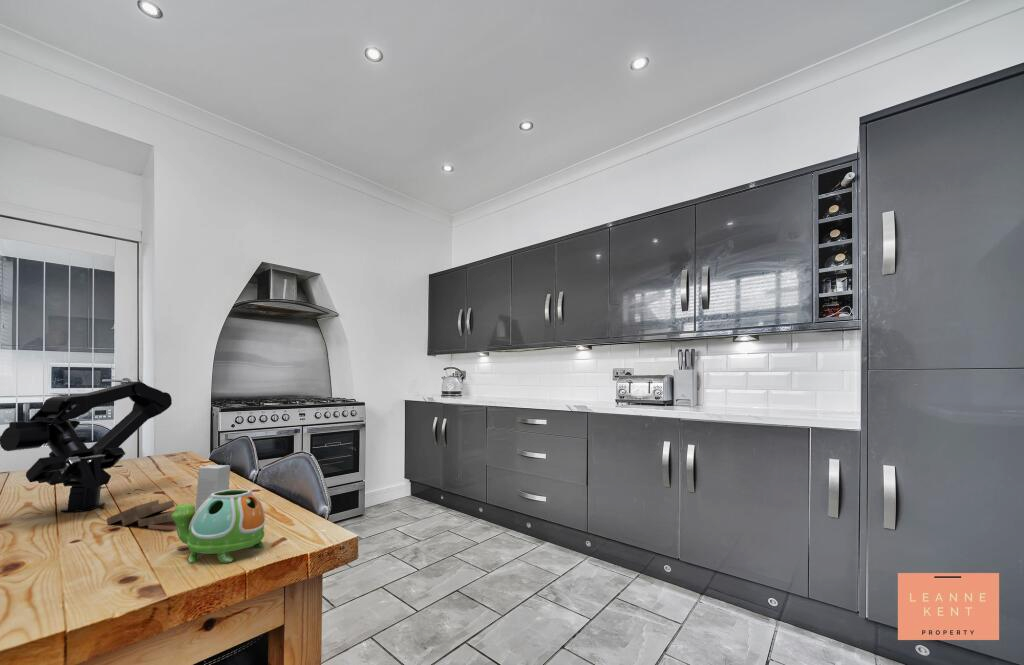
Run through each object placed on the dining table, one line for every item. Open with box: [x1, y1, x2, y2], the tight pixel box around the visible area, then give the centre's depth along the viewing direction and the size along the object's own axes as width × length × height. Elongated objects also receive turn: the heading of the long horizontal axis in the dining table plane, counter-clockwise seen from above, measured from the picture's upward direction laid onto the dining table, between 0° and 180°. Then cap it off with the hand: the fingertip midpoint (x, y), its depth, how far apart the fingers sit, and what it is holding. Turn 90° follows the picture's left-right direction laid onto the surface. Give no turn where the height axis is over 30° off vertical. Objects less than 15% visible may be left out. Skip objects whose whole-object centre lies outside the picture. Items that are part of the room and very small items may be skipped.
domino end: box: [147, 520, 177, 531], centre depth 104 cm, size 2×5×10 cm
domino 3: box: [137, 509, 175, 527], centre depth 103 cm, size 2×5×10 cm
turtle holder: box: [172, 488, 266, 564], centre depth 89 cm, size 12×18×12 cm
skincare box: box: [195, 464, 231, 512], centre depth 115 cm, size 6×4×12 cm
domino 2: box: [121, 500, 176, 527], centre depth 105 cm, size 2×5×10 cm
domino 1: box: [106, 499, 160, 526], centre depth 106 cm, size 2×5×10 cm
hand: (95, 488), depth 109 cm, fingers closed
